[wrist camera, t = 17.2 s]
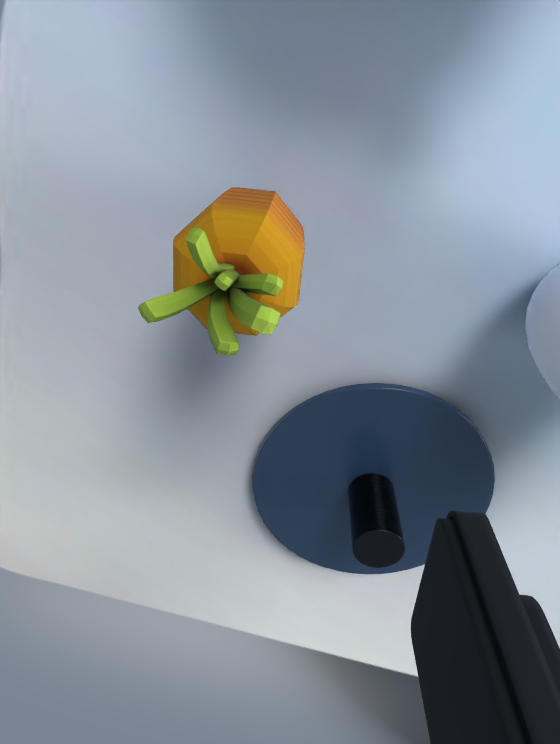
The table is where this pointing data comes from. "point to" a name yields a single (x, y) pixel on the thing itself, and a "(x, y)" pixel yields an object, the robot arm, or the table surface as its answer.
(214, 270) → the carrot
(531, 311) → the white egg-shaped bulb
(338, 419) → the saucepan lid
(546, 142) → the table surface
